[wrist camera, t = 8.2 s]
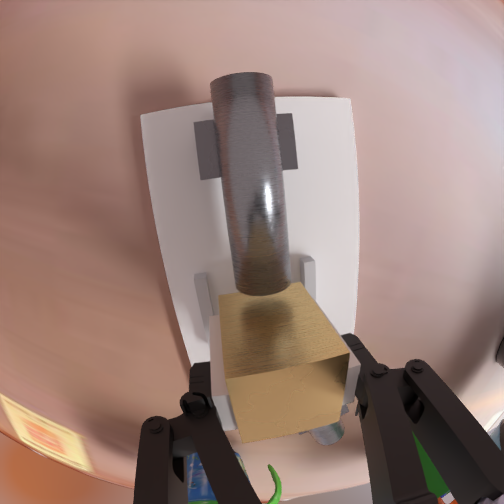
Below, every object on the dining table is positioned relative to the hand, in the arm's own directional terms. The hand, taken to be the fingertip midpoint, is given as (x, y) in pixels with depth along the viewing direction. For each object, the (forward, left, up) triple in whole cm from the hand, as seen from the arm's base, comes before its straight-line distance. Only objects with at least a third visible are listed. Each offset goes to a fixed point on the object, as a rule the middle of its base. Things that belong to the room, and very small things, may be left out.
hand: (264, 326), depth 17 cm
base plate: (-1, 0, -4) cm, 4 cm away
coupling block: (0, 0, 0) cm, 0 cm away
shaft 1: (0, -9, -4) cm, 10 cm away
